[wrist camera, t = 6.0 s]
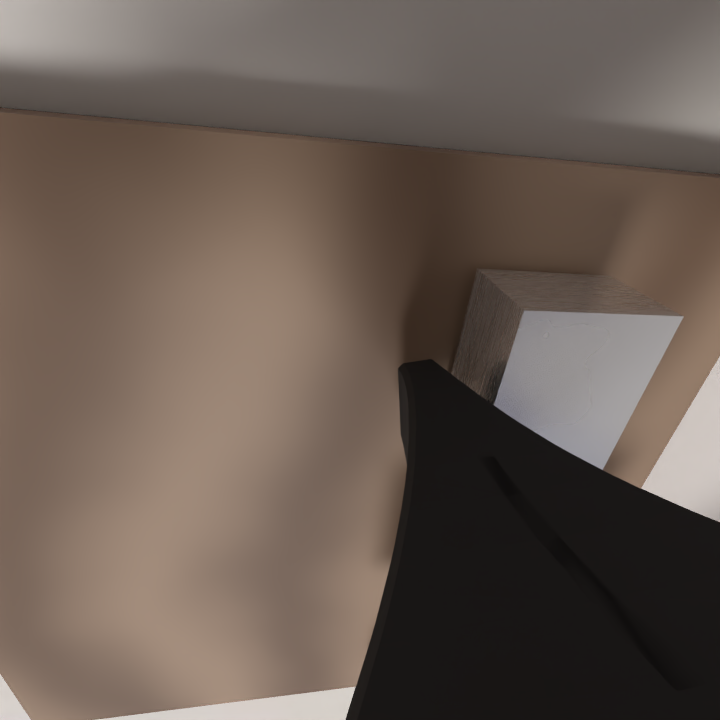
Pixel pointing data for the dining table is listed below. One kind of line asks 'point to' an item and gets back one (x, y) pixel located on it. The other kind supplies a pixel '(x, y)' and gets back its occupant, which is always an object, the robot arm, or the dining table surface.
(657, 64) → the dining table surface
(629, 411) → the link
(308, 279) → the base plate
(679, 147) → the dining table surface
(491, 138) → the dining table surface
